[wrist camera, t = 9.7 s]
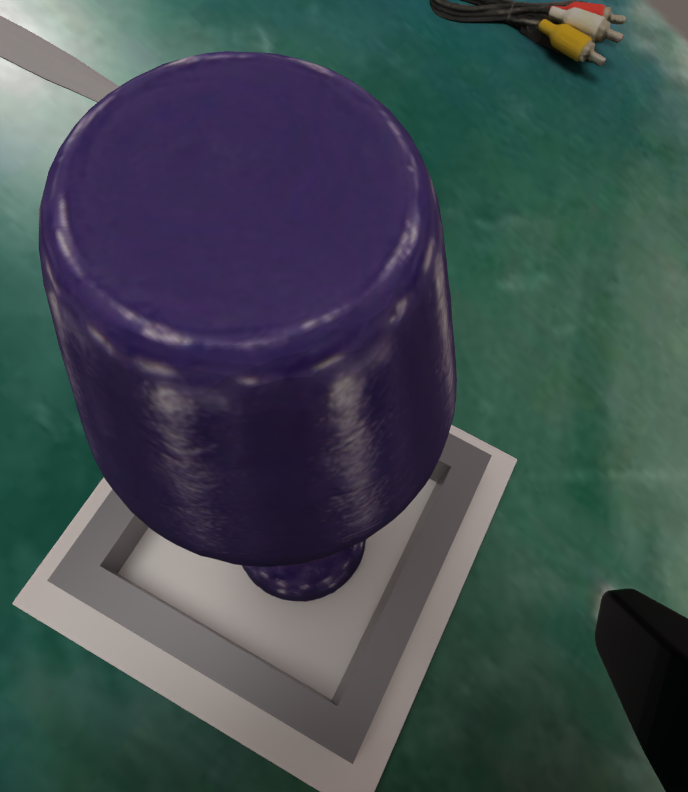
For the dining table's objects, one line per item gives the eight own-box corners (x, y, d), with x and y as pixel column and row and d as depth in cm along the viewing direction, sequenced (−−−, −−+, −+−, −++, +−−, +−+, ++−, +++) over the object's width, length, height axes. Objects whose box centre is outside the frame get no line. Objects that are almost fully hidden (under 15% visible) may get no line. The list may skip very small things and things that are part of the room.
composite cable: (419, 18, 32) (430, -31, 30) (455, -31, 34) (468, -80, 31) (592, 94, 31) (617, 50, 29) (620, 40, 33) (645, -5, 30)
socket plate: (507, 467, 22) (539, 441, 20) (359, 809, 18) (372, 839, 15) (229, 320, 24) (222, 277, 21) (24, 605, 19) (-19, 598, 16)
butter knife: (-13, -13, 29) (-61, 18, 28) (484, 257, 26) (455, 305, 25) (-8, -1, 30) (-56, 30, 28) (479, 265, 27) (450, 313, 25)
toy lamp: (275, 644, 19) (164, 683, 3) (187, 525, 20) (-220, 115, 4) (392, 543, 20) (719, 219, 4) (303, 436, 21) (320, -117, 6)
